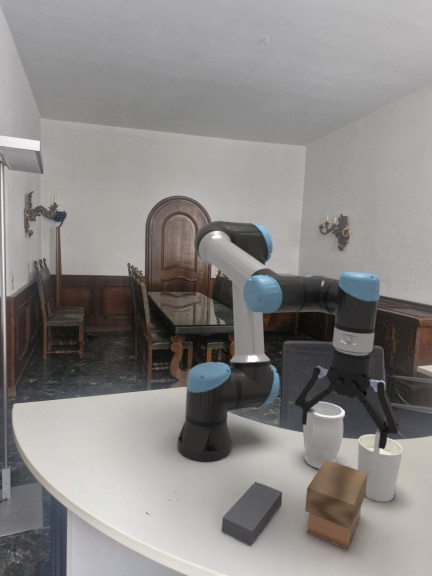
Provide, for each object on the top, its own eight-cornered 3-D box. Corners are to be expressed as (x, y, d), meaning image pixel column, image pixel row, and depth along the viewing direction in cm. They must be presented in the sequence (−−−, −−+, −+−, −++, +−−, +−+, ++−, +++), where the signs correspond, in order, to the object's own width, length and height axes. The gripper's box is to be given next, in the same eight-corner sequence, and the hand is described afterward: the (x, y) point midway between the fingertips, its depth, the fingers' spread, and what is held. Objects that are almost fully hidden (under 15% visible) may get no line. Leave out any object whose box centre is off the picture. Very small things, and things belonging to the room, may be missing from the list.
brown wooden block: (305, 511, 79) (307, 487, 79) (323, 480, 91) (325, 459, 90) (351, 529, 75) (353, 505, 74) (365, 495, 86) (367, 473, 85)
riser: (221, 531, 79) (222, 517, 79) (254, 493, 92) (255, 481, 92) (251, 545, 76) (252, 531, 76) (281, 504, 89) (282, 492, 89)
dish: (307, 532, 81) (309, 509, 80) (323, 503, 90) (325, 483, 89) (347, 549, 77) (350, 525, 76) (359, 518, 86) (362, 496, 85)
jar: (341, 475, 102) (347, 419, 100) (300, 468, 104) (305, 413, 102) (337, 454, 112) (342, 403, 111) (300, 449, 114) (304, 398, 113)
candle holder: (394, 510, 89) (399, 459, 88) (349, 493, 94) (354, 445, 93) (399, 488, 98) (405, 442, 96) (358, 474, 103) (363, 430, 101)
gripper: (285, 341, 82) (276, 438, 85) (419, 369, 70) (404, 481, 72) (298, 335, 89) (289, 425, 91) (423, 359, 76) (408, 463, 79)
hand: (340, 450), depth 82 cm, fingers open, 13 cm apart
